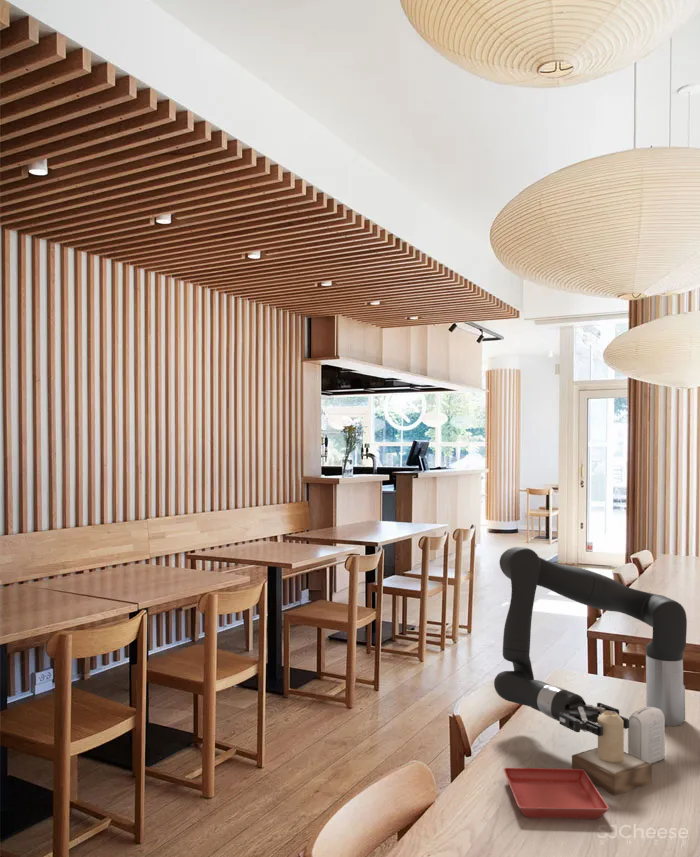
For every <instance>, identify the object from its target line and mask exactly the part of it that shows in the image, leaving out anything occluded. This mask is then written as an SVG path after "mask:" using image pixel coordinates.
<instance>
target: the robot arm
mask: <svg viewBox="0 0 700 857" xmlns="http://www.w3.org/2000/svg"><path fill="white" fill-rule="evenodd" d="M499 568H500V570H501V571H502V573H503V574H504V576H505V577H506V578H507V579H509V580H510V583H511V585H510V587H511V594H510V596H511V597H510V603H509V608H508V610H507V611H508V612H507V615H506V619H505V622H504V629H503V636H502V637H503V638H502V656H503V659H504V660H506V661H508V662H511V663H512V666H513V670H505V671H501V672H499V673H497V675H496V676H495V678H494V681H493V687H494V690H495V692H496V693H497V695H498V696H499V697H500V698H501V699H503V700H505V701H506V702H511V703H513V704H514V703H515V704H518V705H522V706H526V707H530V708H532V709H533V710H536V711H537V712H540V713H542V714H544V715H545V716H547V717H549V718H551V719H553V720H555V721H557V722H559V725H561V726H563V727H564V728H567V729H569V730H571V731H573V732H574V733H580V731H582V732H585V733H587V732H588V733H591V734H593V735H594V736H597V737H598V736H603V727H602V726H601V725H598V717H599V716H600V715H601V714H603V713H604V712H605V711H610V712H612V713H617V714H618V715H619V716H620V717H621V718H622V720H623V722H624V729H625V730H626V729H627V730H628V728H629V718H627V717H624V716H622V715H620V709H618V708H616V707H614V706H613V707H612V706H609V705H607V704H604V703H602V702H596V706H594V705H592V704H587V703H586V701H585V700H584V698H583V696H581V695H580V694H578V693H575V692H572V691H570V690H568V689H567V690H566V689H565V688H562V687H560V686H557V685H556V686H555V685H552V684H550V683H546V682H544V681H542V680H539V679H538V680H537V679H535V676H534V672H533V666H532V661H531V657H530V652H531V650H530V649H531V634H532V633H531V630H532V618H533V611H534V603H535V598H536V590H537V587H538V586H539V587H542V588H545V589H547V590H549V591H552V592H553V593H555V594H558V595H560V596H562V597H565V598H566V599H568V600H572V601H574V602H577V603H578V604H581V605H585V606H587V607H591V608H594V609H596V610H602V611H607V612H615V613H620V614H624V615H627V616H629V617H632V618H633V619H637V620H639V621H640V622H642V623H644V624H646V625H648V626H650V627H651V628H652V639H651V641H650V642H648V643H647V644H646V645H645V669H646V670H645V672H646V673H645V675H646V678H645V679H646V681H645V682H646V684H645V685H646V688H645V692H646V698H645V700H646V704H645V705H646V706H645V707H655V708H658V709H660V710H661V711H662V712H663V714H664V718H665V726H666V727H667V726H668V727H675V726H677V727H678V726H680V725H683V724H684V721H686V685H684V658H683V657H684V651H685V650H686V646H687V631H688V630H687V628H688V625H687V624H688V620H687V613H686V610H685V608H684V607H683V605H682V604H681V603H680V602H678V601H676V600H674V599H671V598H669V597H667V596H666V595H665V596H664V595H660V594H656V593H651V592H648V591H647V592H646V591H643V590H639V589H635V588H631V587H629V586H627V585H625V584H622V583H621V582H619V581H616V580H615V579H613V578H610V577H608V576H605V575H603V574H601V573H597V572H594V571H591V570H588V569H585V568H582V567H577V566H573V565H568V564H561V563H556V562H552V561H550V560H546V559H544V558H542V557H540V556H539V555H538V554H537V553H536V551H534V550H533V549H531V548H528V547H519V546H515V547H511V548H508V549H506V550H505V551H504V552H502V554H501V555H500V558H499Z"/></svg>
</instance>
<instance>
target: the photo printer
mask: <svg viewBox="0 0 700 857" xmlns="http://www.w3.org/2000/svg"><path fill="white" fill-rule="evenodd" d="M628 717H629V718H628V720H629V728H627V730H628V731H627V732H628V733H627V749H628V750H627V753H628V754H630V755H632V756H635V757H637V758H639V759H641V760H643V761H645V762H648V763H650V764H653V763H656V762H659V761H661V760H663V759H665V756H666V755H665V754H666V752H665V750H666V749H665V748H666V744H665V742H666V741H665V740H666V739H665V736H666V735H665V732H666V731H665V730H666V729H665V726H666V725H665V718H664V714H663V712H662V711H661V710H660V709H658V708H655V707H646V706H645V707H642V708H639V709H638V710H635V711H634V712H633V713H632V714H631V715H630V716H628Z"/></svg>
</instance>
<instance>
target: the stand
mask: <svg viewBox="0 0 700 857" xmlns="http://www.w3.org/2000/svg"><path fill="white" fill-rule="evenodd" d="M652 767H653V763H651V764H650V763H648V762H645V761H643V760H641V759H639V758H637V757H635V756H632V755H630V754H628V752H625V751H624V759H623V761H622V762H618V763H612V762H607V761H604V760H602V759H600V758H599V757H598V747H595V748H593V749H588V750H585V751H582V752H579V753H578V752H577V753H575V754H572V755H571V769H583V770H584V771H585V772H586V773H587V775H588V776H589V778H590V779H591V781H592V782H593V784H594V786H595V787H598V788H599V789H601V790H603V791H605V792H606V793H609V794H611V795H613V796H618V795H620V794H623V793H627V792H629V791H631V790H634V789H637V788H641V787H643V786H646V785H649V784H651V783H653V779H652V778H653V771H652V770H653V769H652Z"/></svg>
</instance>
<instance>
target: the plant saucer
mask: <svg viewBox="0 0 700 857" xmlns="http://www.w3.org/2000/svg"><path fill="white" fill-rule="evenodd" d="M502 770H503V772H504V774H505V777H506V779H507V782H508V784H509V787H510V790H511V793H512V795H513V797H514V800H515V802H516V804H517V807H518V808H519V810H520V812H521V813H522V814H523V816H525V818H530V819H575V820H576V819H577V820H578V819H579V820H581V819H582V820H597V819H599V818H600V817H602V816H603V815H605V814H606V813H607V812H608V810H609V809H610V807H609V805H608V804H607V803H606V801H605V799H604V798H603V796H602V795H601V793H600V792H599V791H598V789H597V786H596V785H594V784H593V782H592V781H591V779H590V778H589V776H588V775H587V773H586V772H585V771H584V770H583V769H572V768H554V767H553V768H552V767H551V768H548V767H547V768H545V767H543V768H540V767H504V768H503V769H502Z"/></svg>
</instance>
